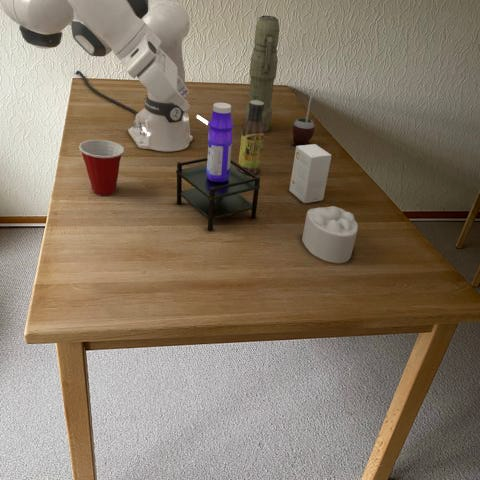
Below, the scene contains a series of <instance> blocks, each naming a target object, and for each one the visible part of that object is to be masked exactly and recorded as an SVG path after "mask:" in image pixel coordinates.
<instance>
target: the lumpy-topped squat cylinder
mask: <svg viewBox="0 0 480 480" xmlns="http://www.w3.org/2000/svg"><path fill="white" fill-rule="evenodd" d="M358 230H359V225H358V222H357V221H356V219H355V216H354V214H353V213H352V212H350V211H346V210H345V209H343V208H341V207H337V206H335V205H331V206H326V207H320V206H319V207H315V208H309V209H308V210H307V212H306V216H305V221H304V228H303V233H302V238H301V240H302V243H303V244H304V246H305V248H306V249H307V250H308V252H309V253H310V254H312V255H313V256H315V257H317V258H319V260H323V261H325V262H329V263H333V264H344V263H347V262H348V261H350V259H351V257H352V253H353V249H354V245H355V243H356V238H357V235H358Z"/></svg>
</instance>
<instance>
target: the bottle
mask: <svg viewBox="0 0 480 480" xmlns="http://www.w3.org/2000/svg"><path fill="white" fill-rule="evenodd" d="M208 126H209V129H208V135H207V141H208V143H207V144H208V145H207V158H208V160H207V161H206V164H207V169H206V173H207V177H208V179H209V180H210V181H213V182H225V181H227V180H228V178H229V176H230V166H231V163H230V160H232V159H231V158H232V145H233V130H232V129H233V128H234V123H233V120H232V105H231V104H229V103H228V102H215V103H213V105H212V114H211V118H210V120H209V121H208Z"/></svg>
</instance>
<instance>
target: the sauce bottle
mask: <svg viewBox="0 0 480 480" xmlns="http://www.w3.org/2000/svg"><path fill="white" fill-rule="evenodd" d="M263 109H264V103H263V102H262V101H258V100H252V101H250V103H249V115H248V119H247V121H245V122H244V123H243V125H242V131H241V137H240V138H241V139H240V146H239V147H240V148H239V156H238V163H237V164H239V165H240V166H242V167H243V168H245V169H246V170H248V171H249V172H251V173H252V174H254V175H255V174H258V172H259V168H260V164H261V158H262V150H263V145H264V137H265V132H264V125H263V123H262V121H261V120H262V112H263ZM237 170H238V171H239V172H241V173H242V174H245V175H246V174H247V173H245V172H244V171H242V170H241V169H239V168H238V167H237ZM247 175H248V174H247Z"/></svg>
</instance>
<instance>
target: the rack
mask: <svg viewBox="0 0 480 480" xmlns="http://www.w3.org/2000/svg"><path fill="white" fill-rule="evenodd" d="M207 160H208V157H203V158H198V159H193V160H188V161H181V162H180V161H178V162H177V163H176V170H175V173H176V205H179V206H180V205H182V199H184V200H185V201H186V202H187V203H188V204H190V205H191V206H192V207H193V208H195V210H197V211H198V212H199V213H200V214H202V215H203V216H204V217H205V218H207V231H208V232H213V230H214V220H219V219H221V218H225V217H229V216H232V215H237V214H240V213H244V212H248V211H251V212H250V219H251V220H255V219H256V217H257V211H258V210H257V209H258V200H259V194H260V193H259V191H260V189H261V185H260V184H261V177H260V176H258V175H256V174H255V173H254V174H252V173H251V172H249V171H248V170H246V169H245V168H243V167H242V166H240V165H239V163H237V161H234V160H233V159H231V160H230V164H231V165H230V176H229V178H228V180H227V181H225V182H213V181H210V180H209V179H208V177H207V173H206V169H207V163H206V164H200V165H195V166H190V167H186V168H183V167H184V166H187V165H194V164H198V163H203V162H207ZM232 165H233V166H232ZM234 166H235V167H236V168H237V169H236V168H235V167H234ZM238 168H239V169H241V170H242V171H244V172H245V173H243V172H241V171H239V169H238ZM246 173H247V175H246ZM249 177H251V178H249ZM183 180H184V181H185V182H187V183H188V184H189V185H191V186H192V187H193V188H189V189H184V190H183V189H182V188H183V187H182V185H183ZM251 191H253V193H252V194H253V195H252V202H250V201H249V200H247V199H246V198H245V197H244V196H243V195H241V194H244V193H247V192H248V193H249V192H251Z"/></svg>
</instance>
